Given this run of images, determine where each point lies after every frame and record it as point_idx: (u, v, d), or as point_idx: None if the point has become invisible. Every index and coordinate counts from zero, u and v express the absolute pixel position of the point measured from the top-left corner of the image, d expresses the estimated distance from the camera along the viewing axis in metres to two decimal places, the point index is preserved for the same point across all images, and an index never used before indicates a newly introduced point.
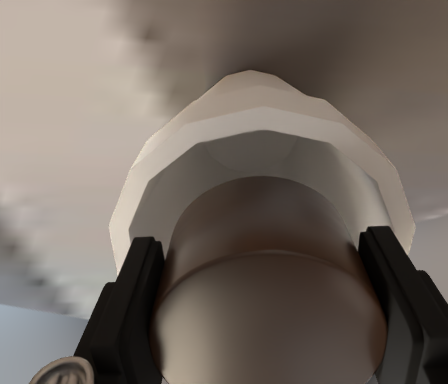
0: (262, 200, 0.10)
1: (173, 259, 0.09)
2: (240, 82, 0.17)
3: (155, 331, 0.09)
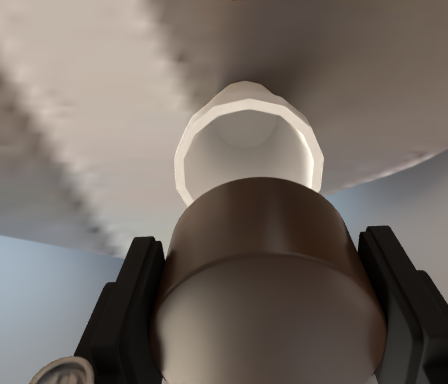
0: (262, 201, 0.10)
1: (173, 260, 0.10)
2: (239, 88, 0.29)
3: (155, 331, 0.09)
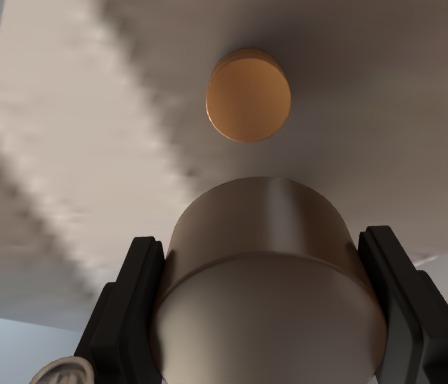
0: (262, 201, 0.10)
1: (173, 260, 0.09)
2: None
3: (155, 332, 0.09)
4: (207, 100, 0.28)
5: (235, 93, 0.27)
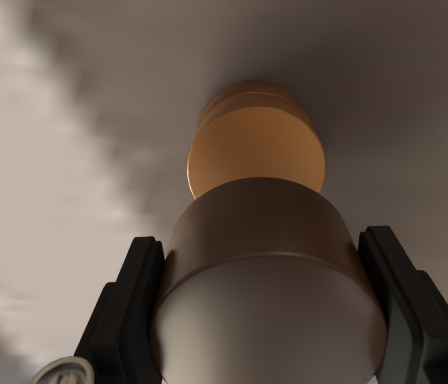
0: (262, 201, 0.10)
1: (173, 260, 0.09)
2: None
3: (155, 332, 0.09)
4: (189, 170, 0.17)
5: (235, 161, 0.17)
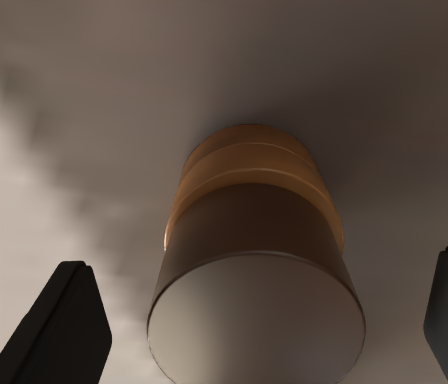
0: (252, 205, 0.11)
1: (170, 259, 0.10)
2: None
3: (154, 325, 0.10)
4: None
5: None
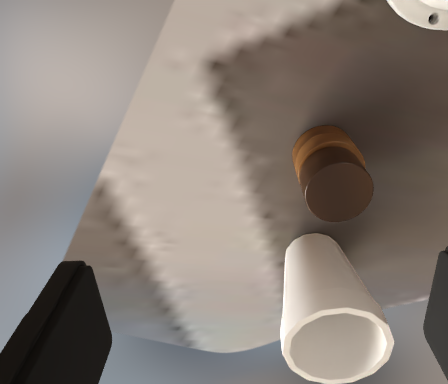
0: (338, 152, 0.33)
1: (312, 168, 0.33)
2: (322, 263, 0.38)
3: (308, 187, 0.32)
4: None
5: None
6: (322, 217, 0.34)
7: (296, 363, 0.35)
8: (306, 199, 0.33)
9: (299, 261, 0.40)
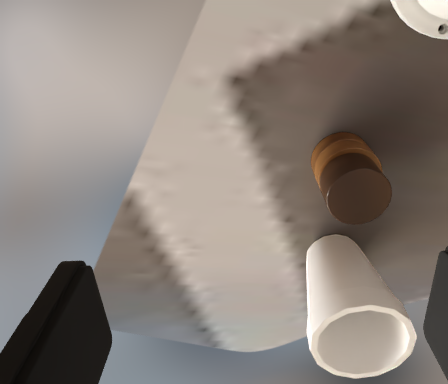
0: (356, 158, 0.35)
1: (333, 174, 0.35)
2: (344, 263, 0.40)
3: (330, 192, 0.34)
4: (320, 175, 0.38)
5: None
6: (343, 220, 0.36)
7: (323, 359, 0.37)
8: (328, 204, 0.35)
9: (321, 262, 0.42)
